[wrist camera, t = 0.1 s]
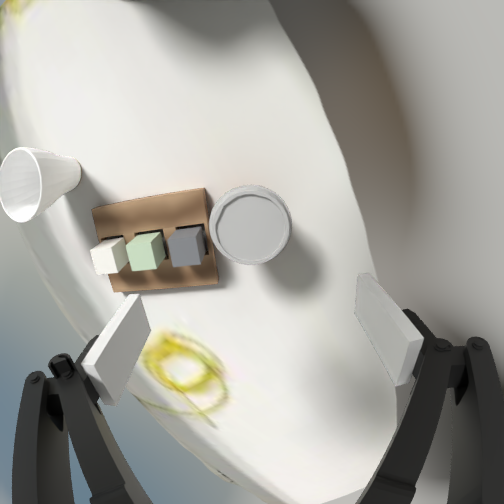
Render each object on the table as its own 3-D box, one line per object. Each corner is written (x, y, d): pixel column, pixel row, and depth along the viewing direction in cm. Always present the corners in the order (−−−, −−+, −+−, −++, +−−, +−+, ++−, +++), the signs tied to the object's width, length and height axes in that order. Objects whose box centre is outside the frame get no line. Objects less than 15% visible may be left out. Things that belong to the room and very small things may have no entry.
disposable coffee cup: (257, 164, 40) (261, 168, 29) (293, 215, 43) (309, 239, 32) (206, 200, 42) (190, 219, 31) (242, 249, 45) (240, 283, 33)
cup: (72, 131, 37) (21, 131, 24) (102, 176, 40) (53, 188, 27) (40, 171, 39) (-10, 183, 26) (67, 214, 42) (19, 237, 29)
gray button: (176, 229, 41) (167, 239, 37) (201, 226, 41) (195, 236, 37) (180, 254, 43) (173, 267, 38) (205, 251, 43) (200, 264, 38)
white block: (104, 240, 42) (89, 250, 37) (124, 237, 42) (111, 247, 37) (110, 262, 43) (97, 274, 38) (130, 260, 43) (118, 272, 38)
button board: (97, 206, 42) (91, 209, 40) (204, 187, 41) (202, 189, 39) (118, 287, 47) (113, 292, 45) (218, 278, 46) (217, 283, 44)
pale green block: (137, 235, 42) (125, 245, 37) (160, 231, 41) (150, 242, 37) (143, 258, 43) (132, 271, 38) (165, 256, 43) (156, 268, 38)
